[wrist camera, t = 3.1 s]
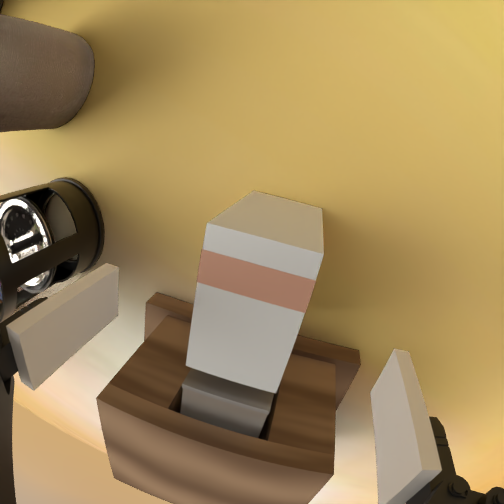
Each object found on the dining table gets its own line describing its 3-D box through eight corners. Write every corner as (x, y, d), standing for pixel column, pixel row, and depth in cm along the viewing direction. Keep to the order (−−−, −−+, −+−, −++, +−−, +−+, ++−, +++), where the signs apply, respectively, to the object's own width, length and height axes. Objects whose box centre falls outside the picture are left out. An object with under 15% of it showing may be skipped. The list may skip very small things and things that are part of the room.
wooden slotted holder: (157, 281, 27) (66, 365, 15) (363, 340, 25) (379, 464, 13) (151, 386, 31) (94, 469, 20) (313, 435, 29) (300, 537, 18)
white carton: (253, 190, 23) (206, 223, 13) (322, 208, 22) (324, 254, 13) (232, 289, 26) (185, 366, 16) (293, 306, 25) (275, 394, 16)
